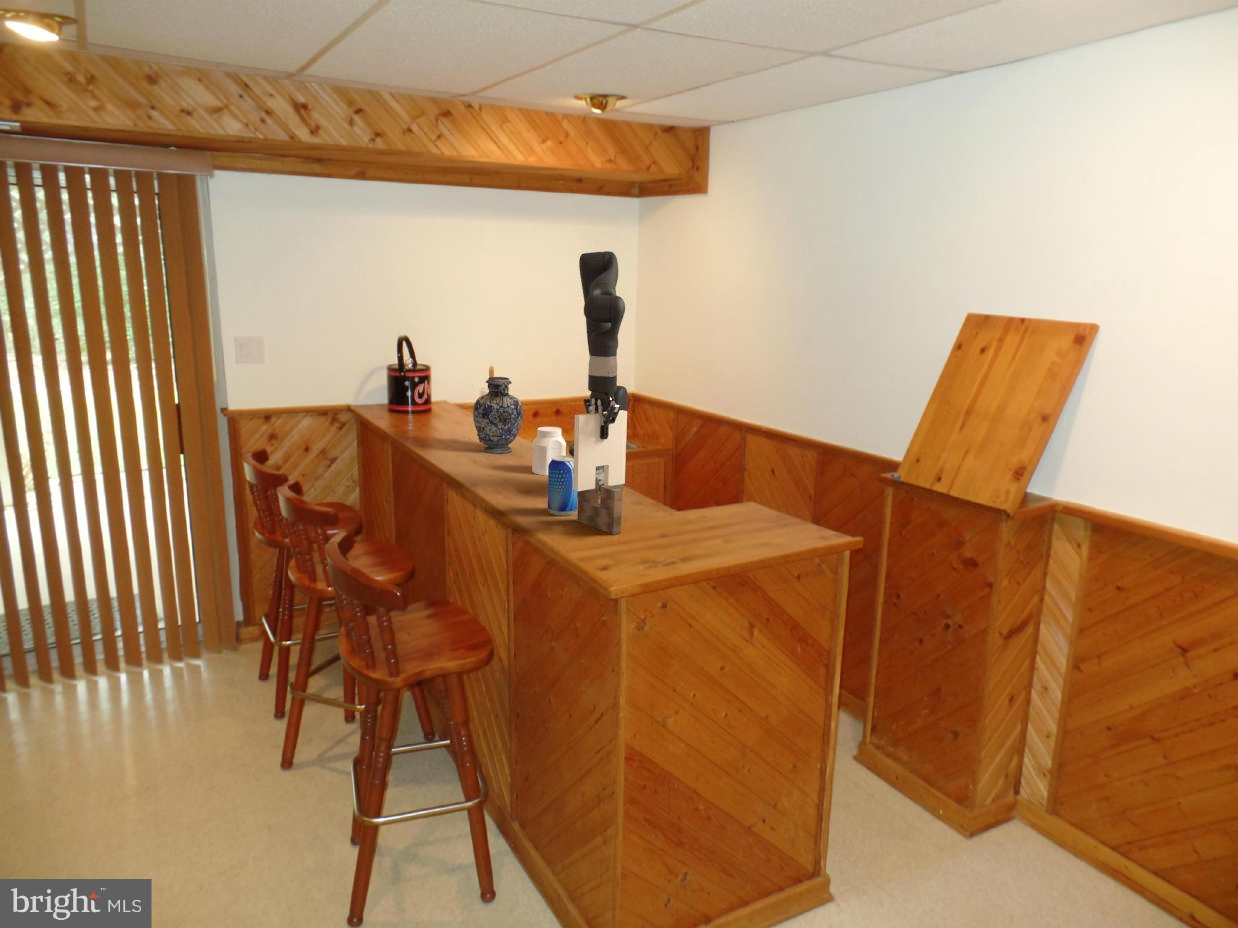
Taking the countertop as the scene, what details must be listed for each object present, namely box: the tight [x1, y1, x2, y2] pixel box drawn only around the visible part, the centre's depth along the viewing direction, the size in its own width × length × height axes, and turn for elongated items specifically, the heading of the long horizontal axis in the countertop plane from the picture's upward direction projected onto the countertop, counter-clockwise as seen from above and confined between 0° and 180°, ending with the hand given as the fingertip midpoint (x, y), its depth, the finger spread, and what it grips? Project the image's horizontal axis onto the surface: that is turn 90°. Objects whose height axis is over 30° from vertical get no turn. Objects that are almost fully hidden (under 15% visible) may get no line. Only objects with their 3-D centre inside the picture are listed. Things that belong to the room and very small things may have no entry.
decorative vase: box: [472, 376, 524, 455], centre depth 320 cm, size 21×19×28 cm
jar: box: [531, 426, 567, 476], centre depth 290 cm, size 12×10×15 cm
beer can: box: [547, 455, 578, 517], centre depth 242 cm, size 8×8×16 cm
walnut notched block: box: [576, 481, 623, 536], centre depth 229 cm, size 16×2×12 cm, turn 39°
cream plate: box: [573, 410, 628, 491], centre depth 226 cm, size 16×2×20 cm, turn 129°
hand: (600, 438), depth 225 cm, fingers closed on cream plate, 2 cm apart
